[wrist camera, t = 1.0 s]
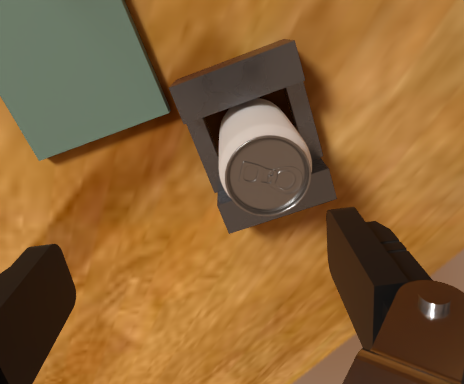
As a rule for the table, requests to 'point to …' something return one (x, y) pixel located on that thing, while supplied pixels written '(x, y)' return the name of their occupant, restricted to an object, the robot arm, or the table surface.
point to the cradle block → (242, 90)
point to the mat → (74, 72)
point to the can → (262, 159)
